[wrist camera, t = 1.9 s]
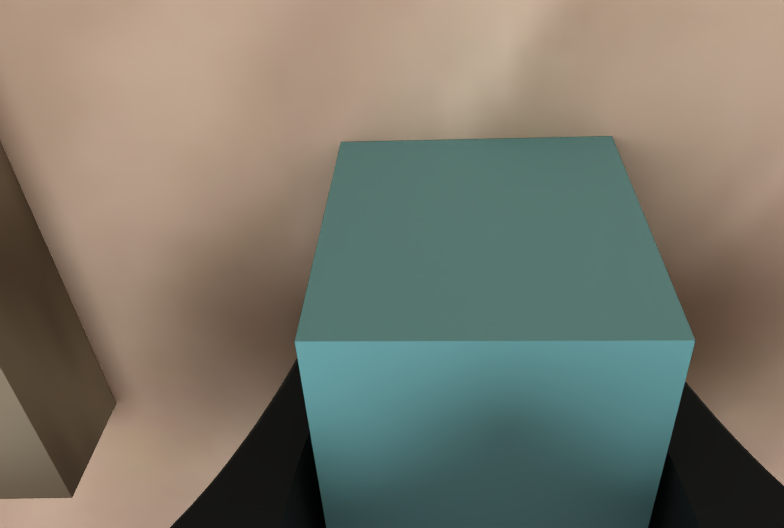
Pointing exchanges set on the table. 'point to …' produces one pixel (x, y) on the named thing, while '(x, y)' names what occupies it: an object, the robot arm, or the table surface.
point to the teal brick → (489, 338)
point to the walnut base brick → (42, 364)
